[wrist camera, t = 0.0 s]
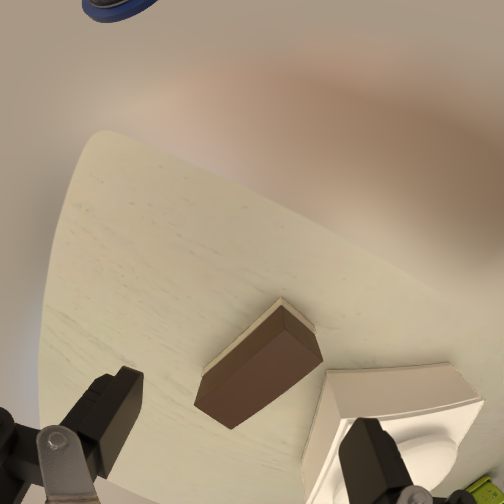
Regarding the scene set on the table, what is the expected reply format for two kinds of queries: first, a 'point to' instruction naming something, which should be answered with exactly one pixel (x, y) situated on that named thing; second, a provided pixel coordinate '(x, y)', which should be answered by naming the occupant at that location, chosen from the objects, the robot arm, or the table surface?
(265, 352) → the brown block cream base
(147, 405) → the table surface
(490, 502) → the flower pot
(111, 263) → the table surface
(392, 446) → the robot arm
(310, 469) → the white lidded box
